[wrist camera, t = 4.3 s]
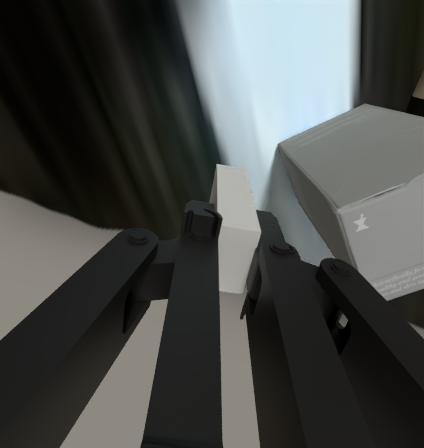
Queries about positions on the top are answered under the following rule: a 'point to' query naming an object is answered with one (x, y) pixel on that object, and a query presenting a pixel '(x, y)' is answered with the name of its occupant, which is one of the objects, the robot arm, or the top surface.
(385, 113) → the skincare box
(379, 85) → the top surface
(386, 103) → the top surface
